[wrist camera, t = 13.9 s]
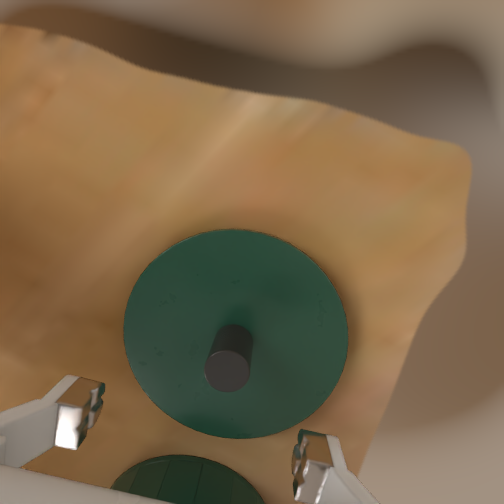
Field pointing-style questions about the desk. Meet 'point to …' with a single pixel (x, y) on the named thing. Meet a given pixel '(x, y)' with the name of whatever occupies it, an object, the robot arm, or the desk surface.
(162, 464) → the tin
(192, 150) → the desk surface
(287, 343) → the lid
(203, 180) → the desk surface
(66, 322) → the desk surface
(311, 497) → the robot arm
